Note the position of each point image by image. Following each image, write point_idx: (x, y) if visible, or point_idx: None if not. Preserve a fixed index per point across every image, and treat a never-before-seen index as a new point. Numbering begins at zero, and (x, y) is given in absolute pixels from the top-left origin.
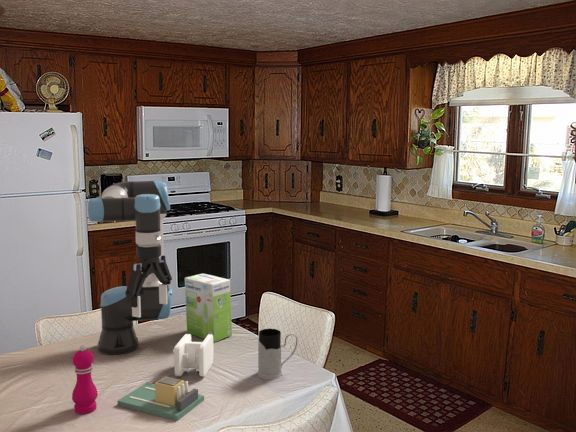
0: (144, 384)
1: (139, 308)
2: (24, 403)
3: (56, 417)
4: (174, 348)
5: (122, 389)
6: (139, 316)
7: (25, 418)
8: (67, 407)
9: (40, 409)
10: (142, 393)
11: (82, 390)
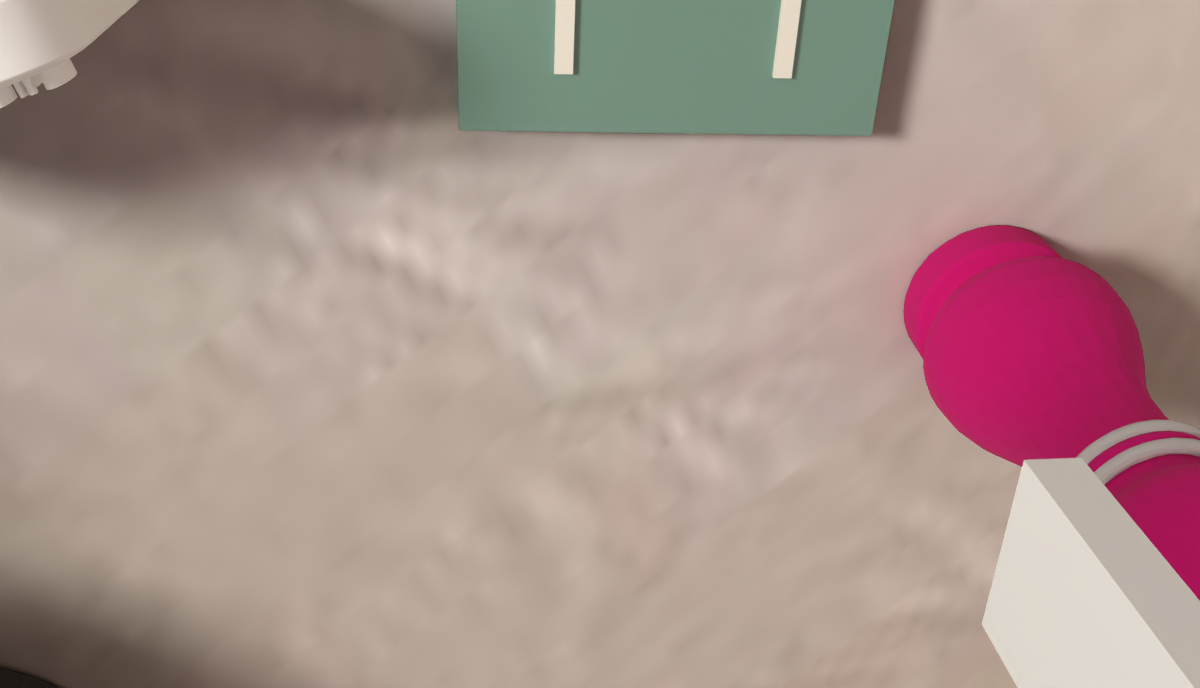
0: (505, 123)
1: (1195, 615)
2: (996, 660)
3: None
4: (21, 91)
5: (593, 273)
6: (1090, 472)
7: None
8: None
9: None
10: (675, 19)
11: (1140, 359)
